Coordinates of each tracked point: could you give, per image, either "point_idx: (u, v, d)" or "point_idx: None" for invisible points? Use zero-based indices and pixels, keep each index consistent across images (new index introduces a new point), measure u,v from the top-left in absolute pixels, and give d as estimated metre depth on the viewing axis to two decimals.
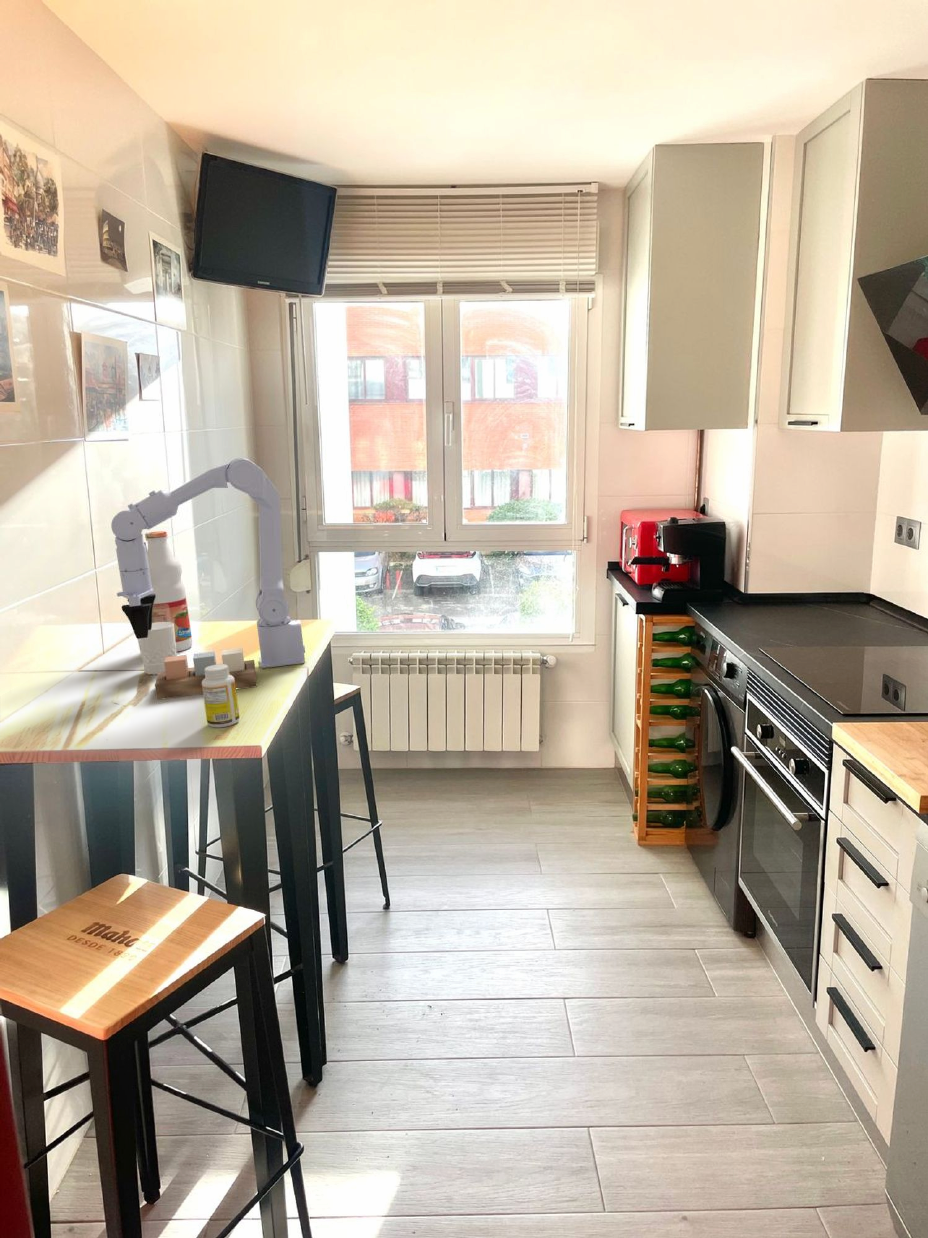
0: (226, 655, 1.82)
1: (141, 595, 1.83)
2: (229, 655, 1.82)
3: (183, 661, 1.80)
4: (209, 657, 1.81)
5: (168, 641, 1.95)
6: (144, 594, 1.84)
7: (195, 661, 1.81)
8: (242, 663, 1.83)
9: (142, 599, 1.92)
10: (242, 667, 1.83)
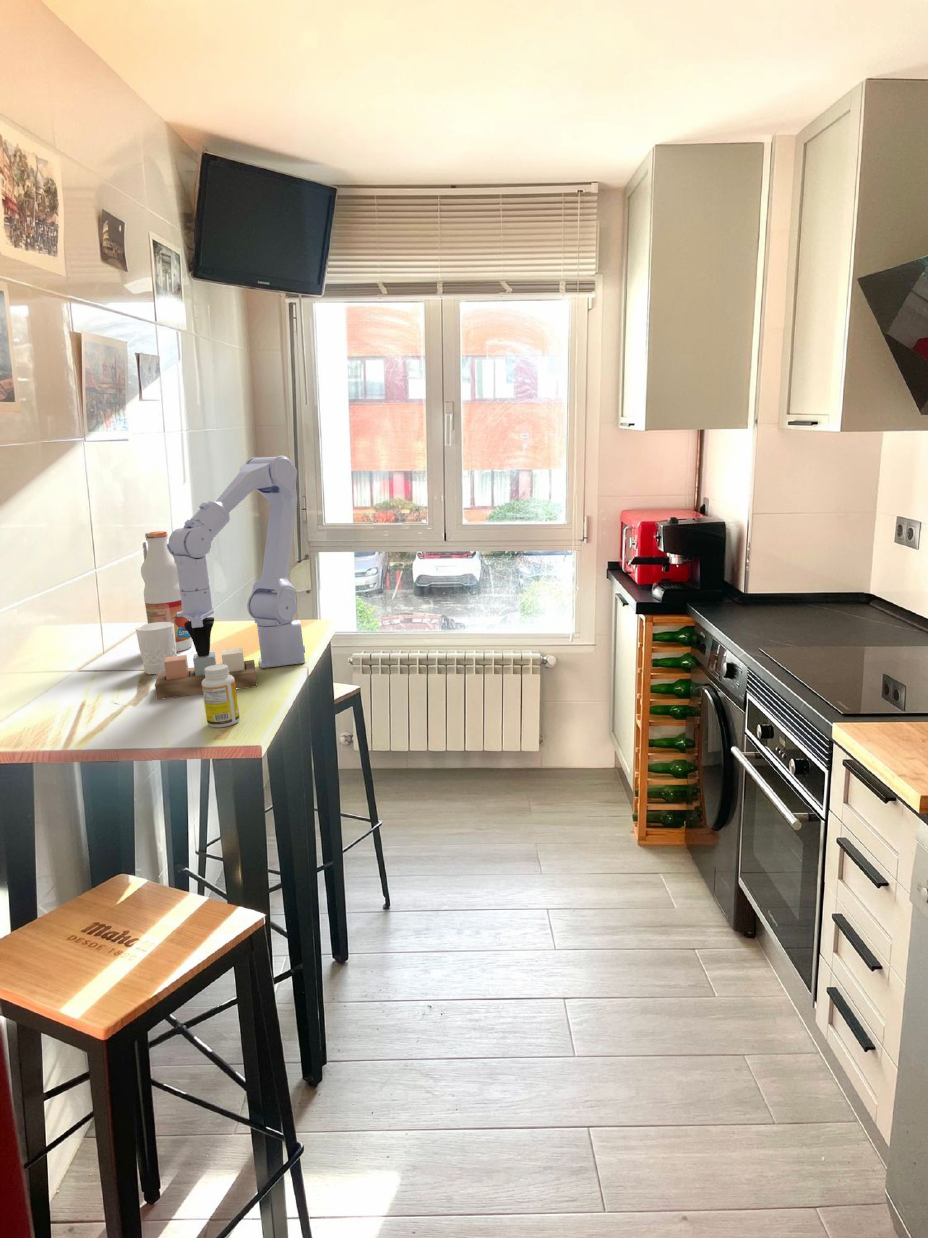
0: (226, 655, 1.82)
1: (203, 616, 1.76)
2: (229, 655, 1.82)
3: (183, 661, 1.80)
4: (209, 657, 1.81)
5: (168, 641, 1.95)
6: (206, 615, 1.77)
7: (195, 661, 1.81)
8: (242, 663, 1.83)
9: None
10: (242, 667, 1.83)
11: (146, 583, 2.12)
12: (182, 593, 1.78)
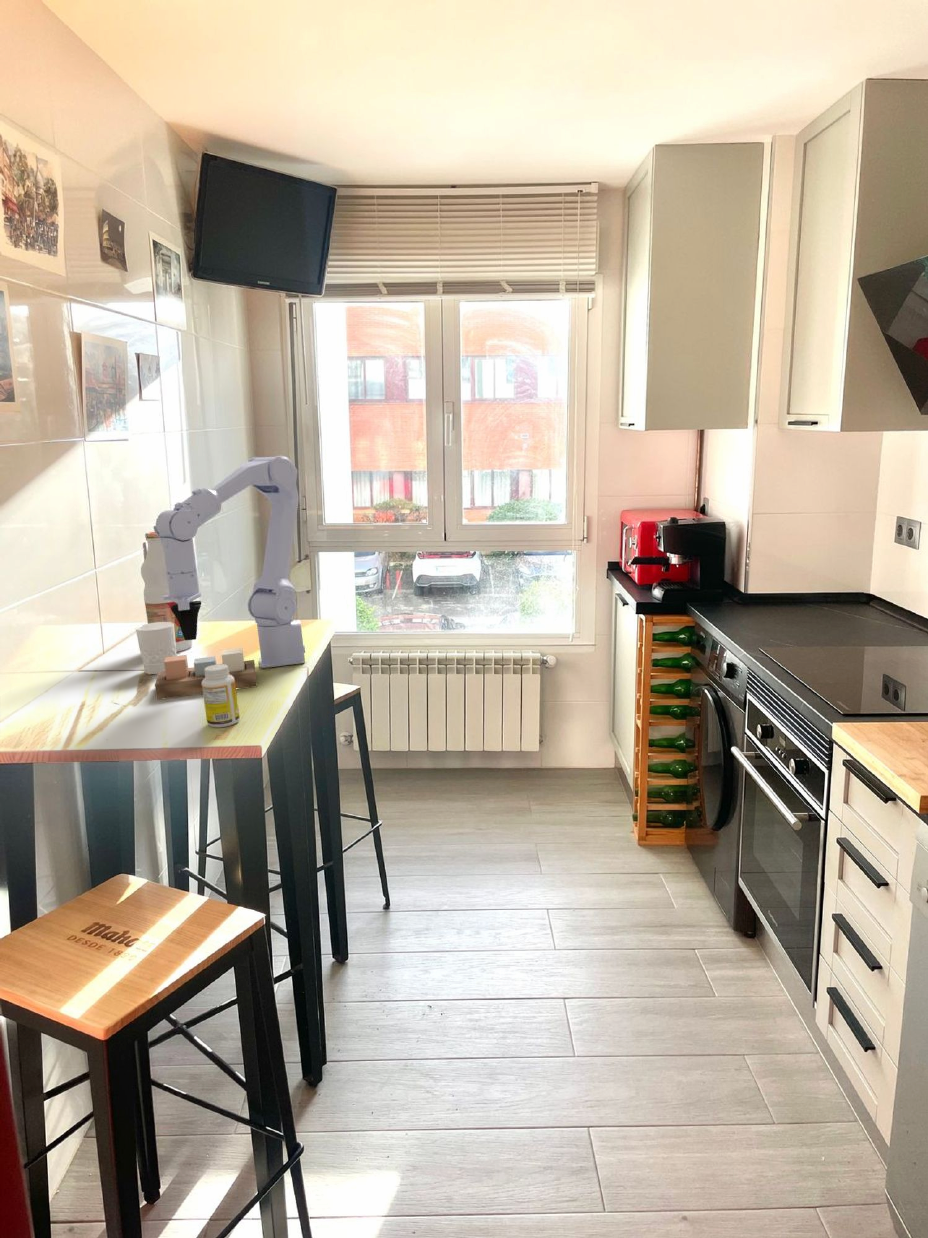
0: (226, 655, 1.82)
1: (190, 599, 1.75)
2: (229, 655, 1.82)
3: (183, 661, 1.80)
4: (210, 662, 1.81)
5: (168, 641, 1.95)
6: (193, 598, 1.76)
7: (196, 666, 1.81)
8: (242, 663, 1.83)
9: None
10: (242, 667, 1.83)
11: (146, 583, 2.12)
12: (169, 576, 1.77)
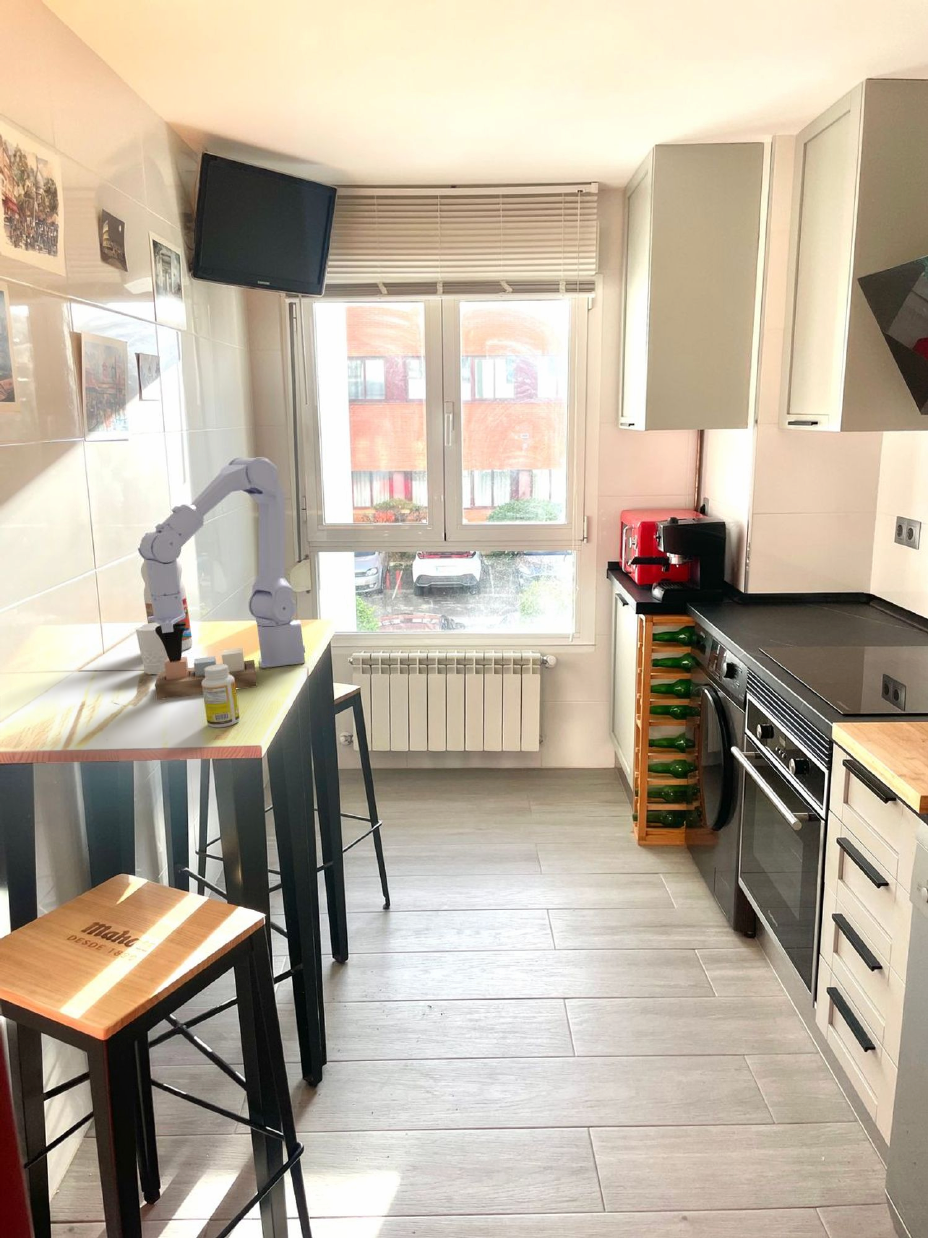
0: (226, 655, 1.82)
1: (174, 621, 1.75)
2: (229, 655, 1.82)
3: (183, 663, 1.80)
4: (210, 662, 1.81)
5: None
6: (177, 620, 1.76)
7: (196, 666, 1.81)
8: (242, 663, 1.83)
9: None
10: (242, 667, 1.83)
11: (146, 583, 2.12)
12: (153, 598, 1.77)
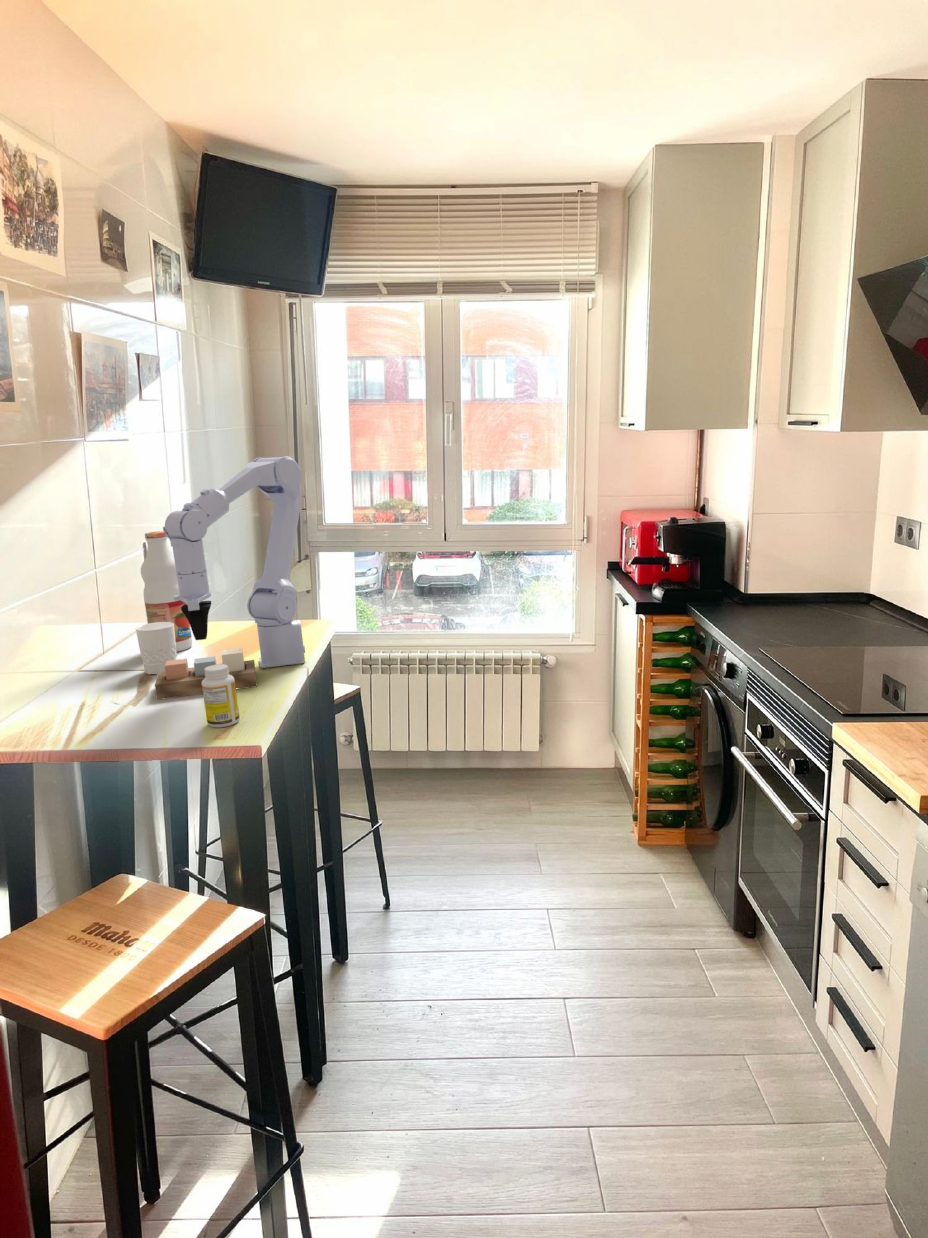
0: (226, 655, 1.82)
1: (200, 599, 1.75)
2: (229, 655, 1.82)
3: (184, 665, 1.80)
4: (210, 662, 1.81)
5: (168, 641, 1.95)
6: (203, 598, 1.77)
7: (196, 666, 1.81)
8: (242, 663, 1.83)
9: None
10: (242, 667, 1.83)
11: (145, 583, 2.12)
12: (179, 576, 1.77)
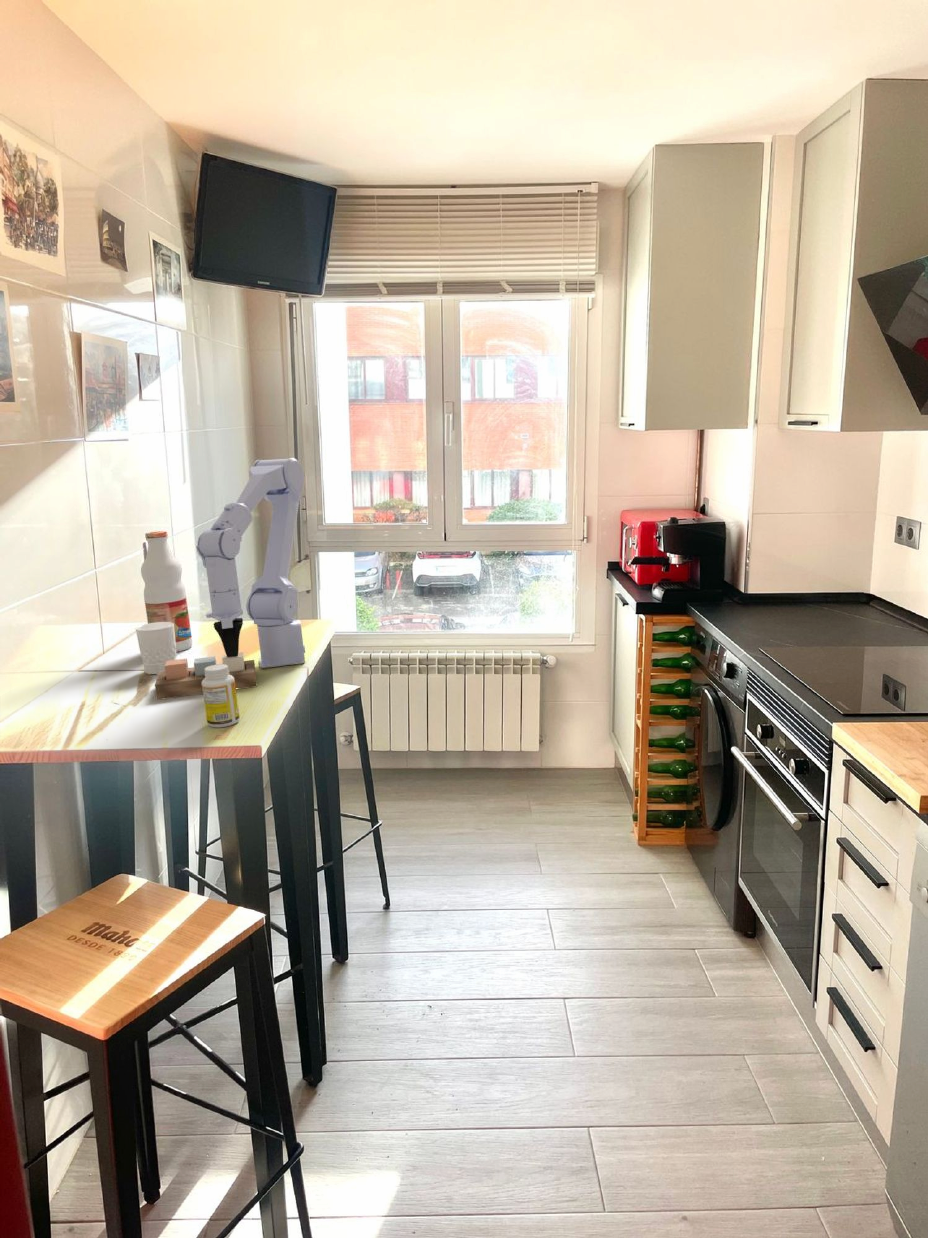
0: (227, 659, 1.82)
1: (233, 617, 1.77)
2: (230, 659, 1.82)
3: (184, 665, 1.80)
4: (210, 662, 1.81)
5: (168, 641, 1.95)
6: (235, 616, 1.79)
7: (196, 666, 1.81)
8: (243, 667, 1.83)
9: None
10: None
11: (146, 583, 2.12)
12: (212, 594, 1.79)
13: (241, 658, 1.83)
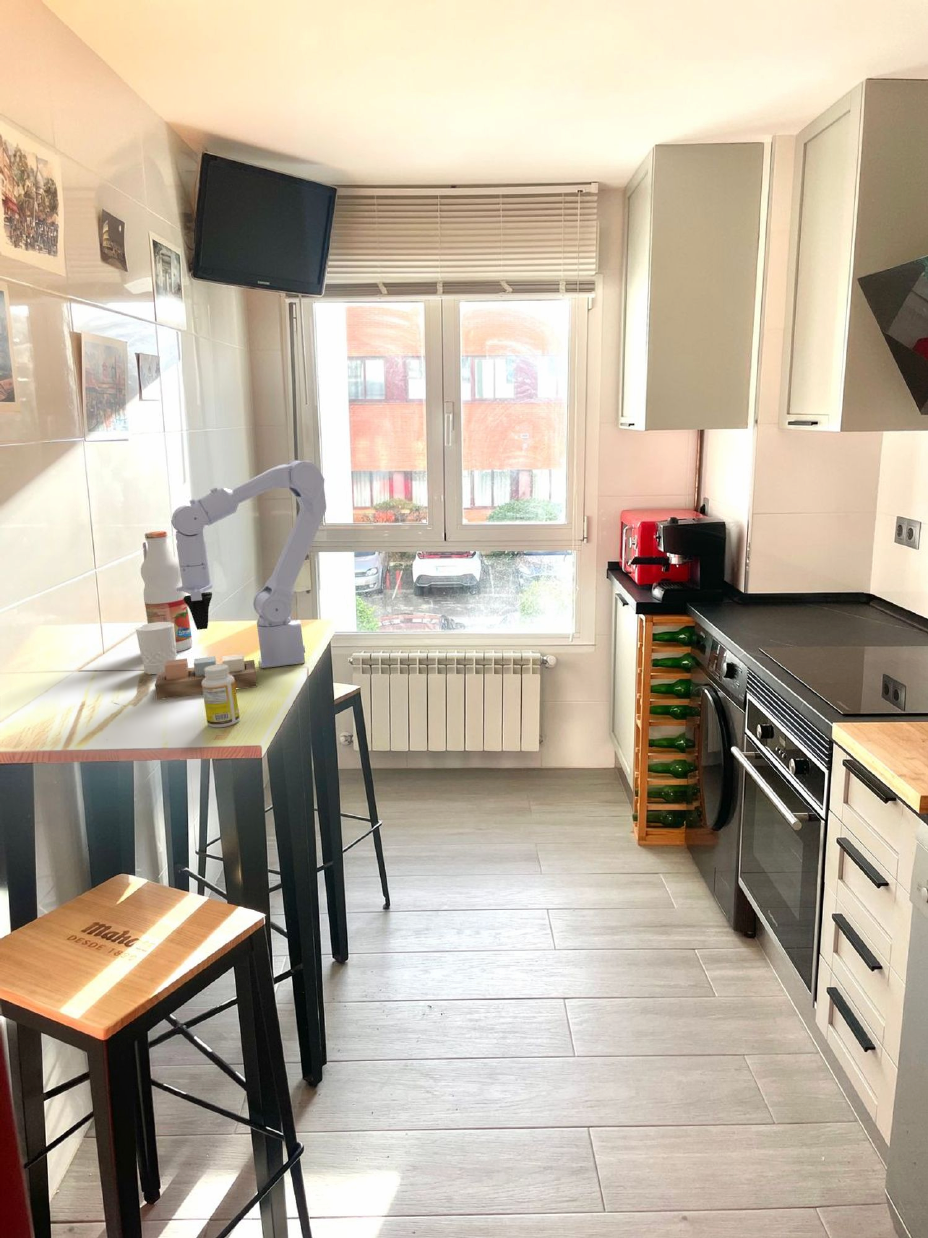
0: (227, 661, 1.82)
1: (202, 590, 1.84)
2: (230, 661, 1.82)
3: (184, 665, 1.80)
4: (210, 662, 1.81)
5: (168, 641, 1.95)
6: (205, 589, 1.85)
7: (196, 666, 1.81)
8: (243, 669, 1.83)
9: None
10: None
11: (145, 583, 2.12)
12: (182, 568, 1.86)
13: (241, 660, 1.83)
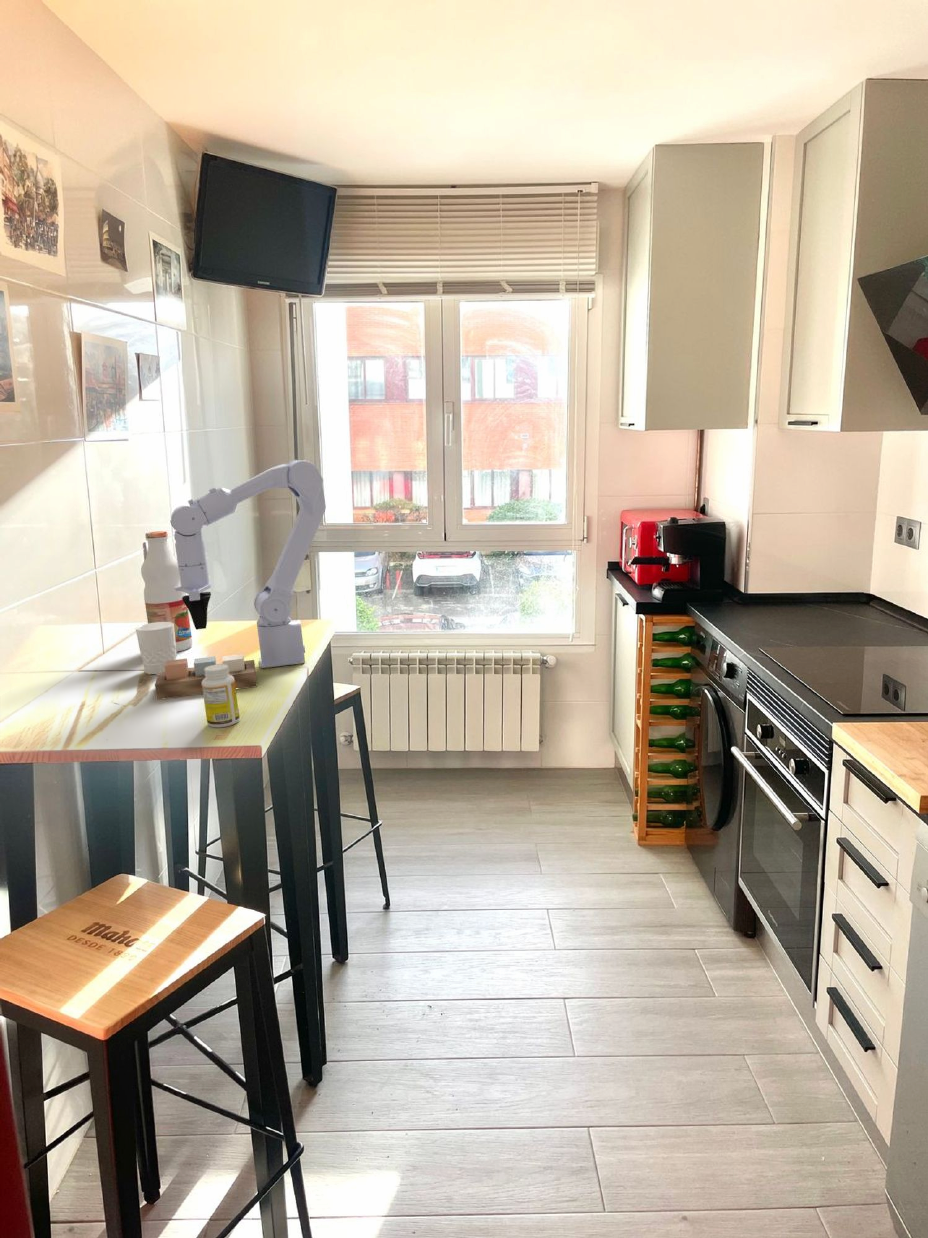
0: (227, 661, 1.82)
1: (200, 590, 1.85)
2: (230, 661, 1.82)
3: (184, 665, 1.80)
4: (210, 662, 1.81)
5: (168, 641, 1.95)
6: (203, 589, 1.86)
7: (196, 666, 1.81)
8: (243, 669, 1.83)
9: None
10: None
11: (146, 583, 2.12)
12: (180, 568, 1.86)
13: (241, 660, 1.83)
